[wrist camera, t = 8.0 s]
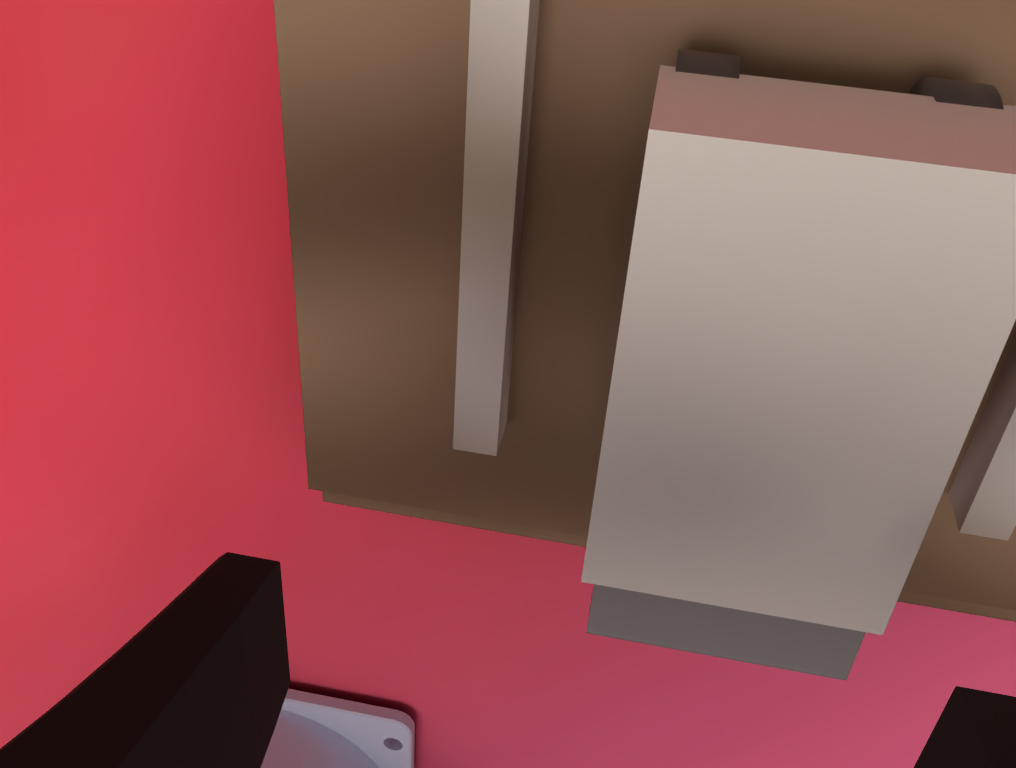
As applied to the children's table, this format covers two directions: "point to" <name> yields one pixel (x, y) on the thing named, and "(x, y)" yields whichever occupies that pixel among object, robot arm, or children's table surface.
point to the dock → (553, 242)
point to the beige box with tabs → (796, 356)
